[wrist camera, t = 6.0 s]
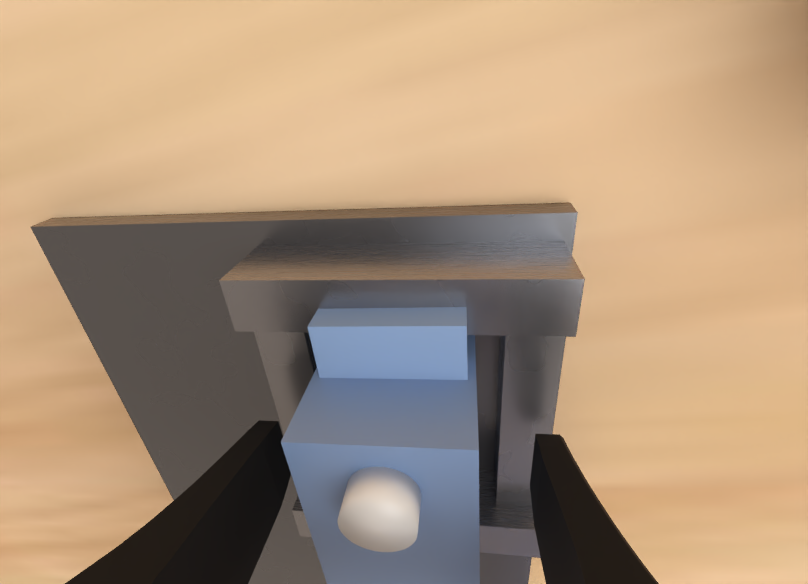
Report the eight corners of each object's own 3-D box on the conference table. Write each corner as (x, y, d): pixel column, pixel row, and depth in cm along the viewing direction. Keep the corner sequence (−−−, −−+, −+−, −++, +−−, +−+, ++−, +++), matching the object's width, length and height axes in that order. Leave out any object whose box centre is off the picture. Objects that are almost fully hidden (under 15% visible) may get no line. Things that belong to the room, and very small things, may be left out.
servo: (476, 480, 16) (480, 677, 11) (373, 475, 16) (332, 658, 11) (473, 265, 12) (479, 424, 7) (334, 269, 12) (242, 417, 7)
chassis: (522, 596, 21) (530, 673, 18) (223, 565, 23) (193, 629, 20) (570, 203, 11) (602, 246, 9) (52, 218, 13) (-46, 256, 11)
